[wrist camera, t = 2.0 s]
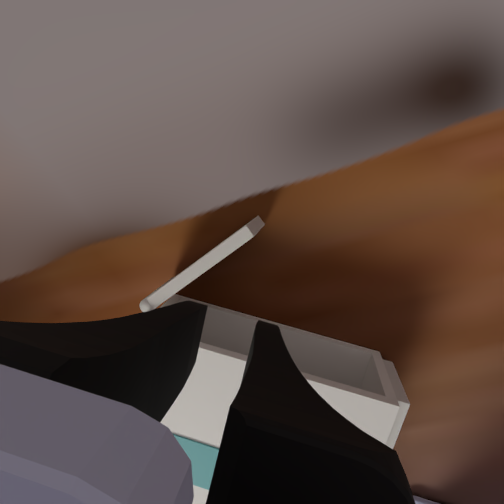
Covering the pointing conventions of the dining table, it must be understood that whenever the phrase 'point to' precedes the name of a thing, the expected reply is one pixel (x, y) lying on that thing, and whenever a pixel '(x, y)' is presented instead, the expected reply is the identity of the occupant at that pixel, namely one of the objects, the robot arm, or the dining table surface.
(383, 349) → the dining table surface
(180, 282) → the flap
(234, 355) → the carton
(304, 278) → the dining table surface
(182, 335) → the robot arm
